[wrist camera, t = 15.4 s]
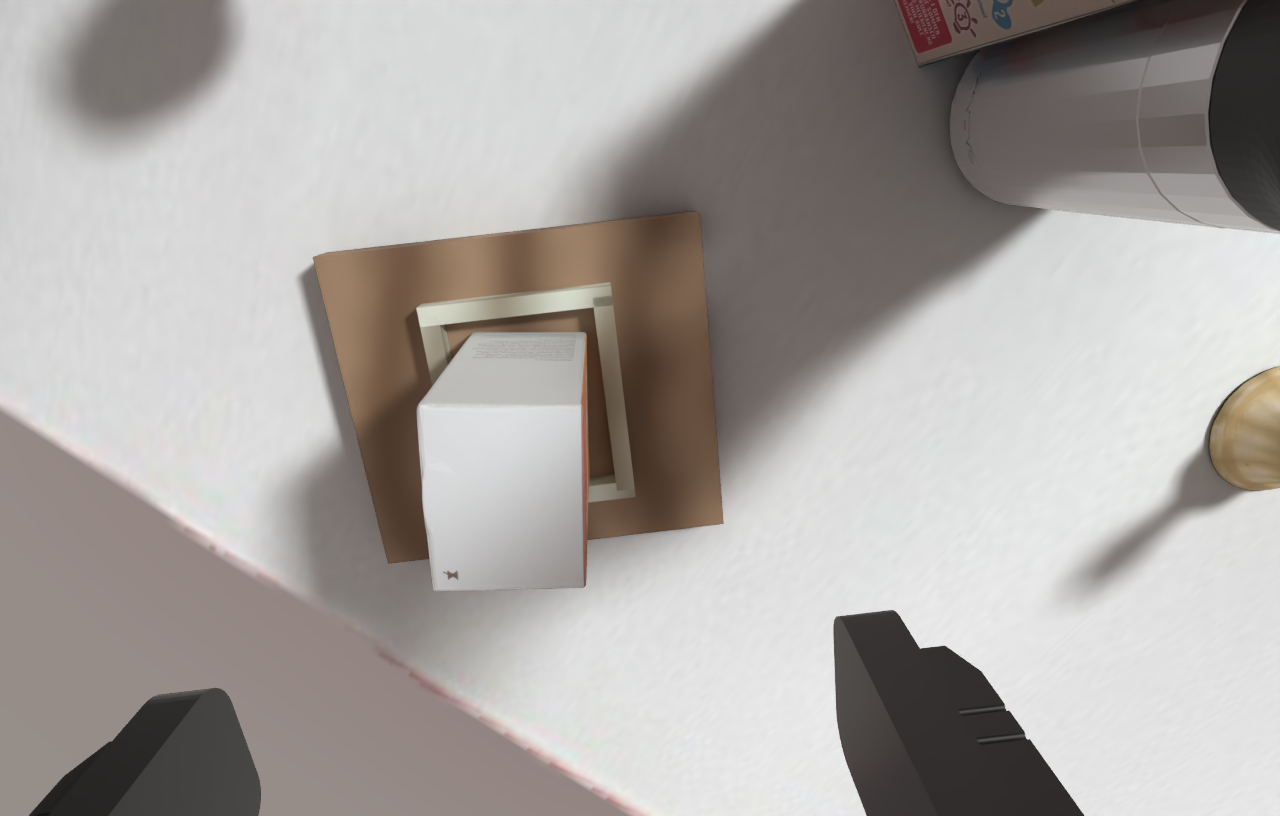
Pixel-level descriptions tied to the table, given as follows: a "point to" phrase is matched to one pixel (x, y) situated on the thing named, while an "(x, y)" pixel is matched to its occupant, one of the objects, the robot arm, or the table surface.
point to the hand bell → (1250, 434)
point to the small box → (507, 463)
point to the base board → (539, 302)
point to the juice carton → (986, 22)
